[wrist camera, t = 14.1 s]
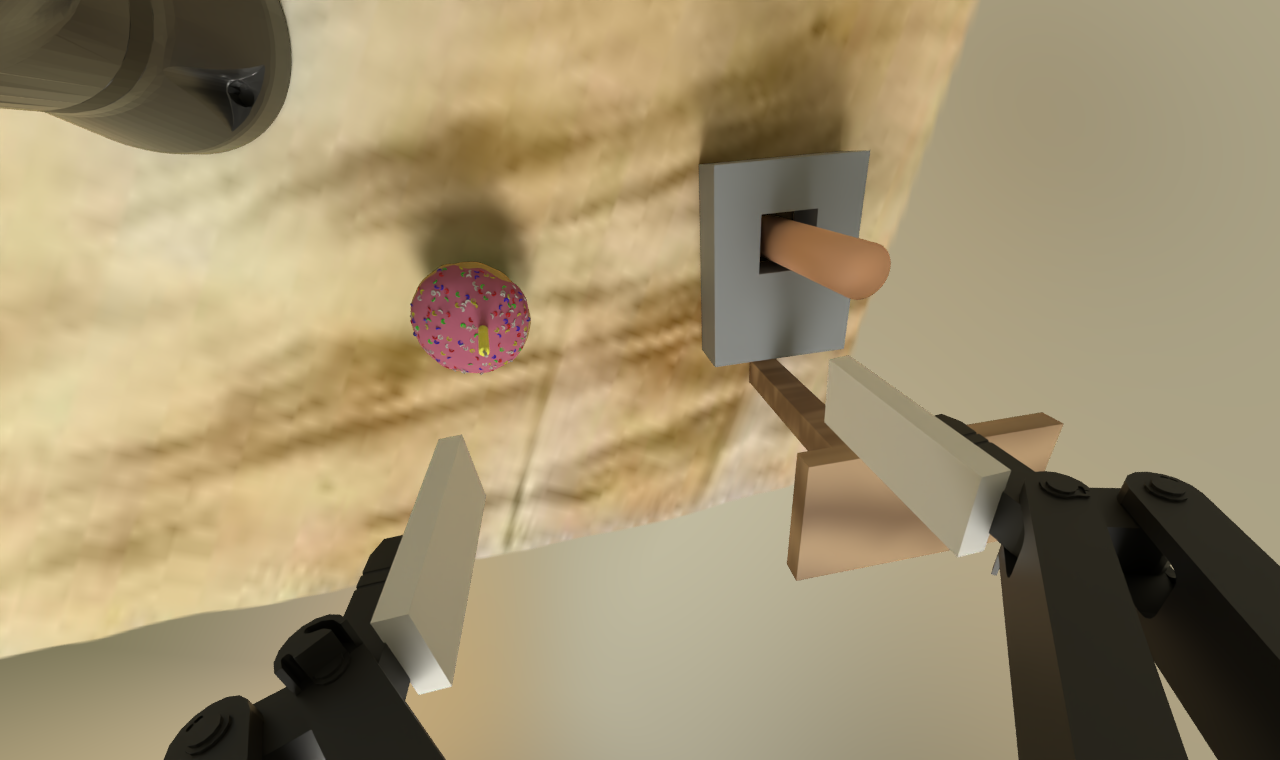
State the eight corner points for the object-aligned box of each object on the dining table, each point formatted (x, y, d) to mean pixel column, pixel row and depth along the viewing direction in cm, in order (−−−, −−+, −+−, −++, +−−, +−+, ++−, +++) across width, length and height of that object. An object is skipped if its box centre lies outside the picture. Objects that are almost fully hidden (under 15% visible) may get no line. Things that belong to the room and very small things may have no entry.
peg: (748, 257, 40) (833, 302, 28) (749, 217, 38) (840, 245, 26) (785, 253, 40) (885, 296, 28) (787, 213, 39) (895, 239, 26)
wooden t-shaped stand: (691, 321, 42) (808, 467, 22) (833, 302, 43) (1063, 423, 24) (693, 397, 45) (796, 580, 26) (825, 377, 47) (1018, 536, 27)
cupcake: (524, 246, 37) (510, 283, 26) (541, 344, 40) (534, 411, 30) (413, 257, 36) (351, 299, 25) (441, 355, 39) (398, 429, 29)
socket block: (698, 164, 36) (714, 165, 32) (840, 151, 37) (870, 150, 34) (702, 349, 43) (715, 366, 40) (821, 333, 44) (843, 348, 41)
